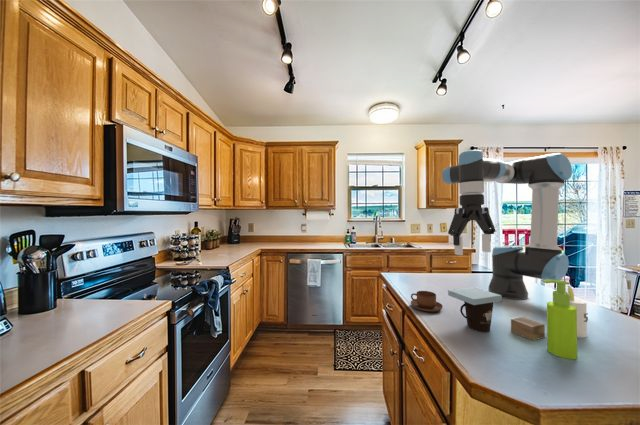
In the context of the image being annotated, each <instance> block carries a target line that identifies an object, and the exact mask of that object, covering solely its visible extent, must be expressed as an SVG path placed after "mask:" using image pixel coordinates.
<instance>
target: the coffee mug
mask: <svg viewBox="0 0 640 425" xmlns="http://www.w3.org/2000/svg"><path fill="white" fill-rule="evenodd" d="M463 302H464V301H463ZM494 303H495V302H491V303H485V304H478V305H472V304H470V303H467V302H464V303H463V304H461V306H460V309H459V311H460V313H461V316H463V317H464V319H466V324H467V327H468V329H470V330H473V331H476V332H479V333H480V332H481V333H488V332H491V325H492V317H493V312H494V311H493V309H494ZM463 309H464V310H465V313H464V312H463Z"/></svg>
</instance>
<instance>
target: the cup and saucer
mask: <svg viewBox="0 0 640 425" xmlns="http://www.w3.org/2000/svg"><path fill="white" fill-rule="evenodd" d="M413 296H416V298H414V297H413ZM410 298H411V301H410V305H411V306H412V307H413V308H415V309H417V310H418V311H419V310H420V311H422V312H439V311H441V310H442V309H443V304H442V303H440V302H438V301H437V294H436V293H435V292H433V291H427V290H418V291H416V293H411V294H410Z"/></svg>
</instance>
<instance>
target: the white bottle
mask: <svg viewBox="0 0 640 425" xmlns="http://www.w3.org/2000/svg"><path fill="white" fill-rule="evenodd" d="M567 291H568V292H567V293H569V294H570V305H571V306H574V307H576V308H577V338H587V337H588V324H587V323H588V321H589V317H588V315H589V313H587V310H588V309H587V307H588V306H587V302H586V301H585V300H583V299H580V298H576V297H575V294H574V291H573V289H572V287H571V285H567Z"/></svg>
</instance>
